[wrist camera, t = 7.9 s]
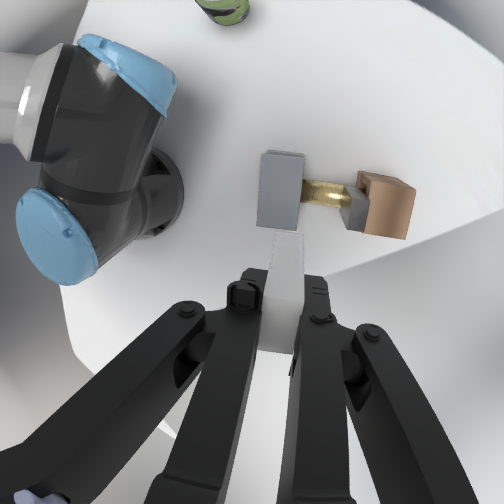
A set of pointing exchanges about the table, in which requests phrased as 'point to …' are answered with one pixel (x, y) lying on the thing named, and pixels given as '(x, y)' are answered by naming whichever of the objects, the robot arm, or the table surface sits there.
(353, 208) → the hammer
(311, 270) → the table surface
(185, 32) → the table surface
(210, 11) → the beverage can
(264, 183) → the grey slotted clamp block
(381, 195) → the socket block
